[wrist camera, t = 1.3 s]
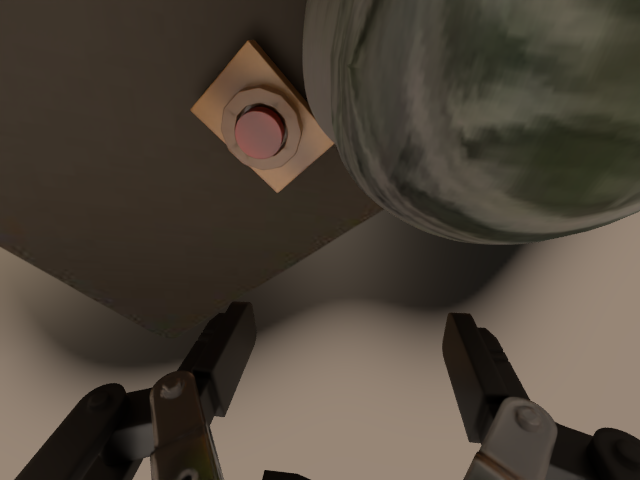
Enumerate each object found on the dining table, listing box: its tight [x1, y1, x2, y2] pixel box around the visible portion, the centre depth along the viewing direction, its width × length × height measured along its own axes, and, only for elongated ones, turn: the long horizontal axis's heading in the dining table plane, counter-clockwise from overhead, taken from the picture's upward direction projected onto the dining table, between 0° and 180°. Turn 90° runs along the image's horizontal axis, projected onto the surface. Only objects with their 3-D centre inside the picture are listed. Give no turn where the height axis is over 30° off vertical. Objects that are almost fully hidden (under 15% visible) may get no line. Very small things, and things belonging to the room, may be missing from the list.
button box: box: [191, 40, 335, 193], centre depth 29 cm, size 8×11×4 cm
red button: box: [235, 107, 284, 159], centre depth 27 cm, size 4×4×2 cm
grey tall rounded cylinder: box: [303, 0, 640, 245], centre depth 15 cm, size 10×10×28 cm
